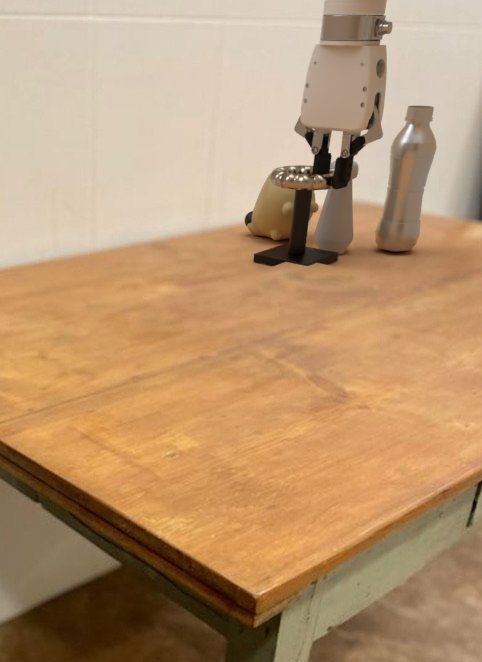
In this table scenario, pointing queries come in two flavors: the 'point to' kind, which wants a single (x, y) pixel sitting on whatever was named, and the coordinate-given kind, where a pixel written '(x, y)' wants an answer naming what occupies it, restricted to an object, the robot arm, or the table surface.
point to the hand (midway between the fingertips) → (329, 185)
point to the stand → (297, 239)
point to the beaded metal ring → (301, 178)
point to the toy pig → (274, 212)
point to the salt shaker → (336, 217)
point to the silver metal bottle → (407, 181)
